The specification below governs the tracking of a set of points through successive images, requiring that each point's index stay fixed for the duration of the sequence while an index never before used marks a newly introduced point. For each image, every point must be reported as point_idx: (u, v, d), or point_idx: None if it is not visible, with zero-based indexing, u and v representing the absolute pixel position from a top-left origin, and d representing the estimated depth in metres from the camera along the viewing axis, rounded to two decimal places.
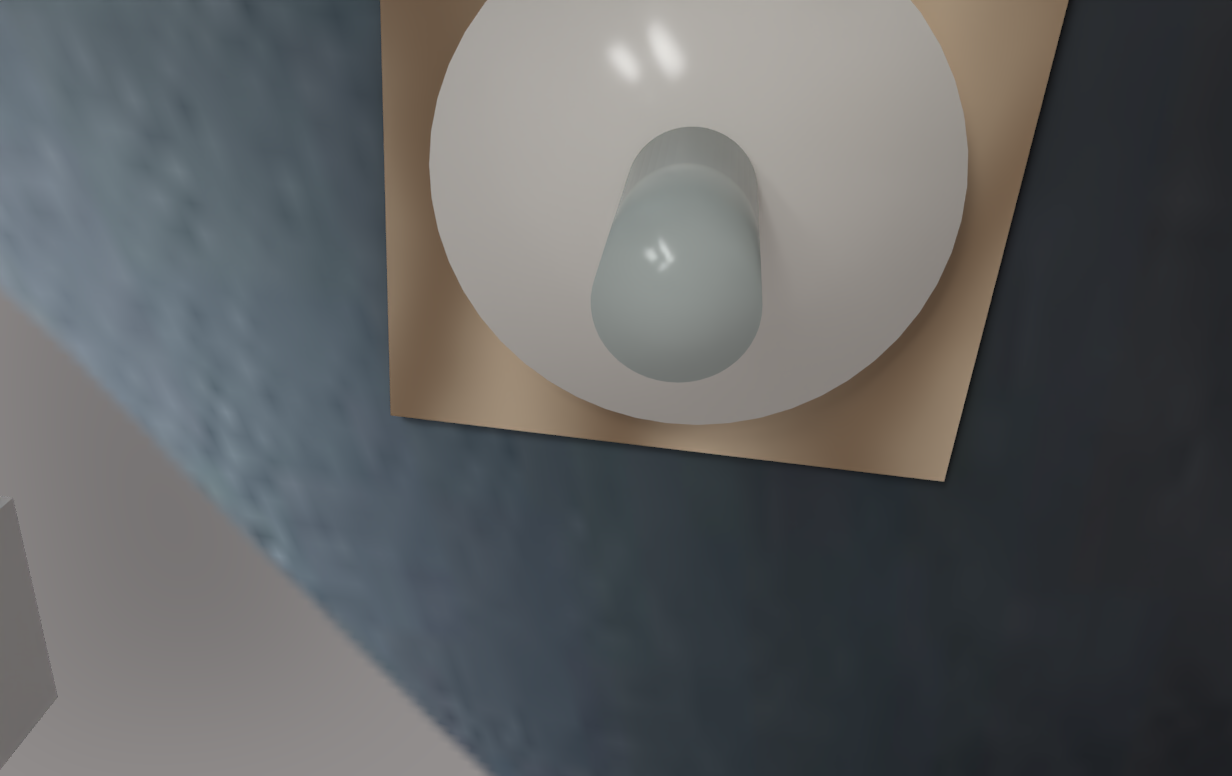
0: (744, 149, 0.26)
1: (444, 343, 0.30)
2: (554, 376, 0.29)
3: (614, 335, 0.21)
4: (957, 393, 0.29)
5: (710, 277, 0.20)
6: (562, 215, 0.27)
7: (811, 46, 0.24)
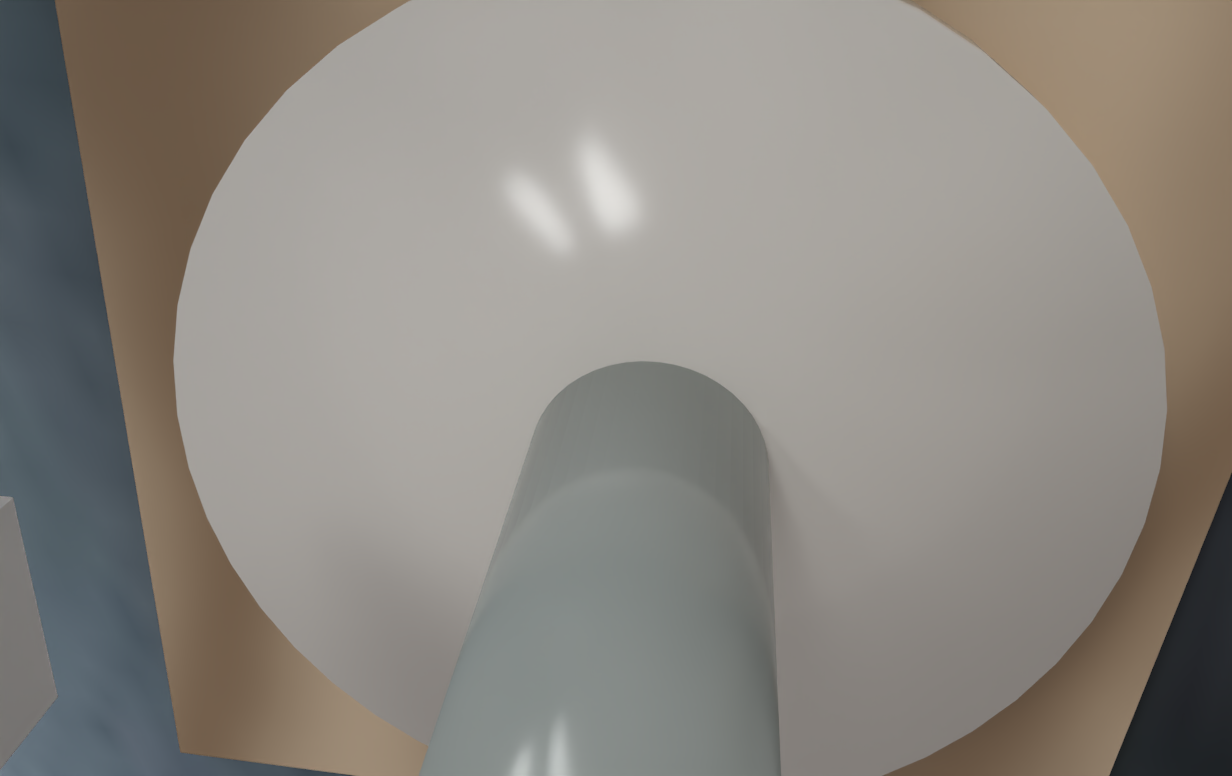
0: (743, 401, 0.14)
1: (253, 657, 0.18)
2: (427, 734, 0.17)
3: None
4: (1102, 752, 0.18)
5: None
6: (420, 498, 0.15)
7: (871, 226, 0.13)
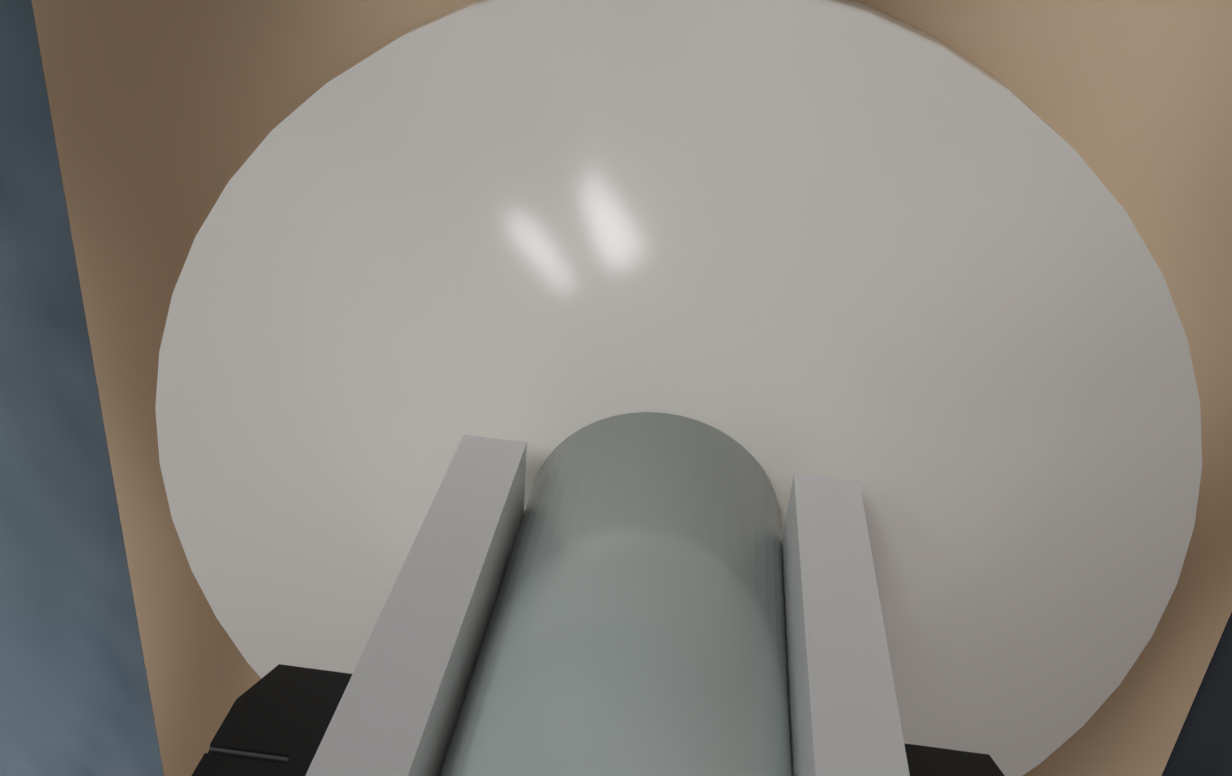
0: (754, 454, 0.13)
1: None
2: None
3: None
4: None
5: None
6: None
7: (890, 273, 0.12)
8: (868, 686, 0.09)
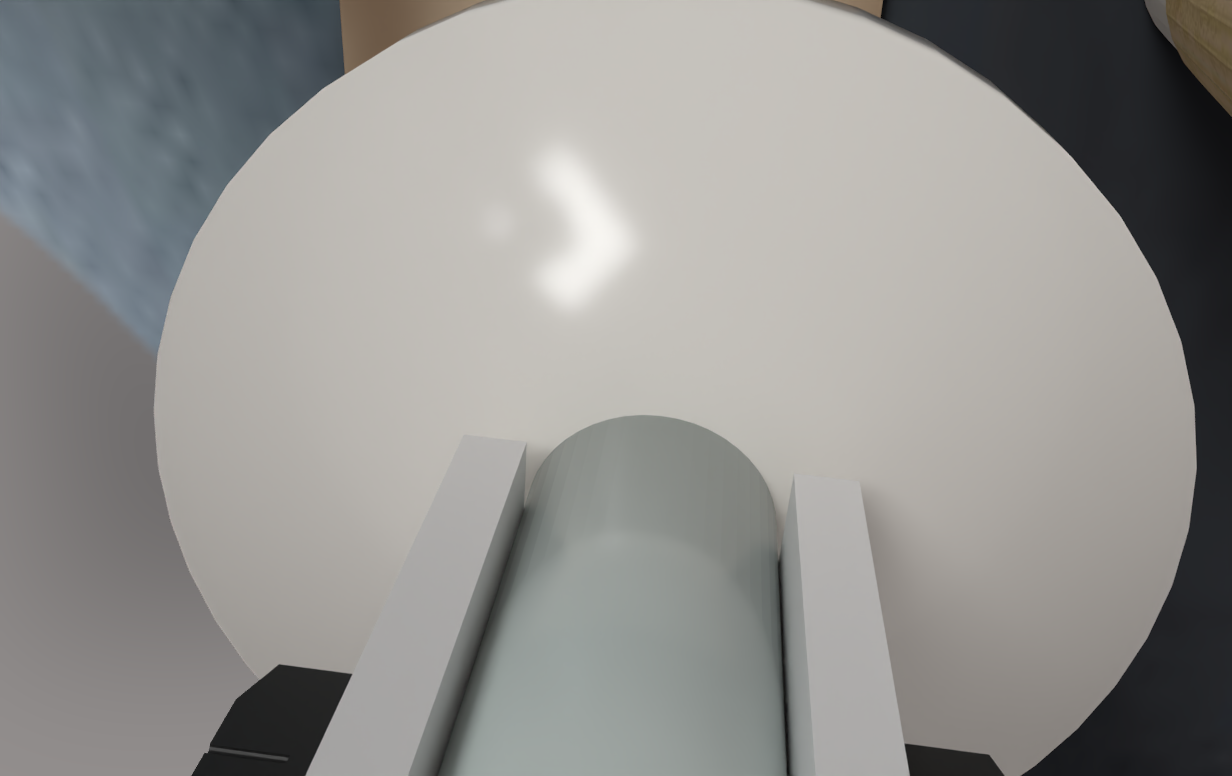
0: (750, 457, 0.13)
1: None
2: None
3: None
4: None
5: None
6: None
7: (885, 277, 0.12)
8: (869, 687, 0.09)
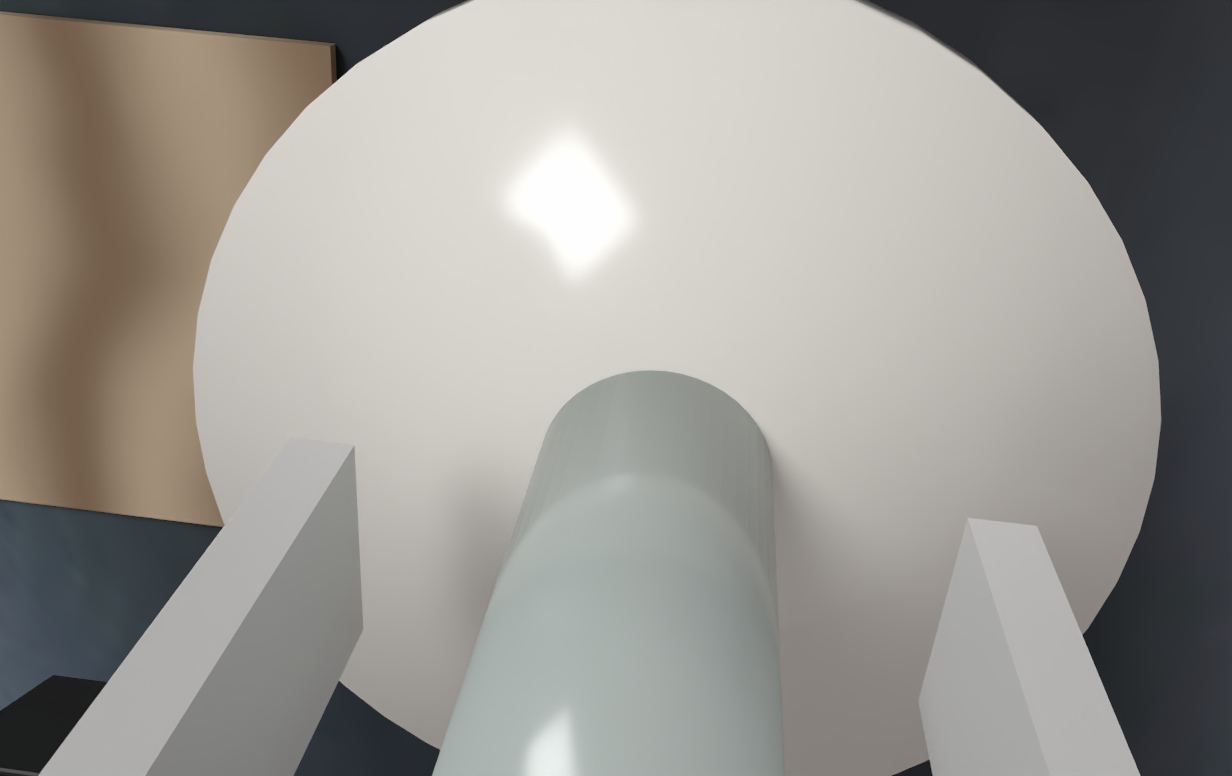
0: (748, 409, 0.14)
1: None
2: (436, 737, 0.18)
3: None
4: None
5: None
6: (431, 504, 0.15)
7: (872, 239, 0.13)
8: (1107, 760, 0.09)
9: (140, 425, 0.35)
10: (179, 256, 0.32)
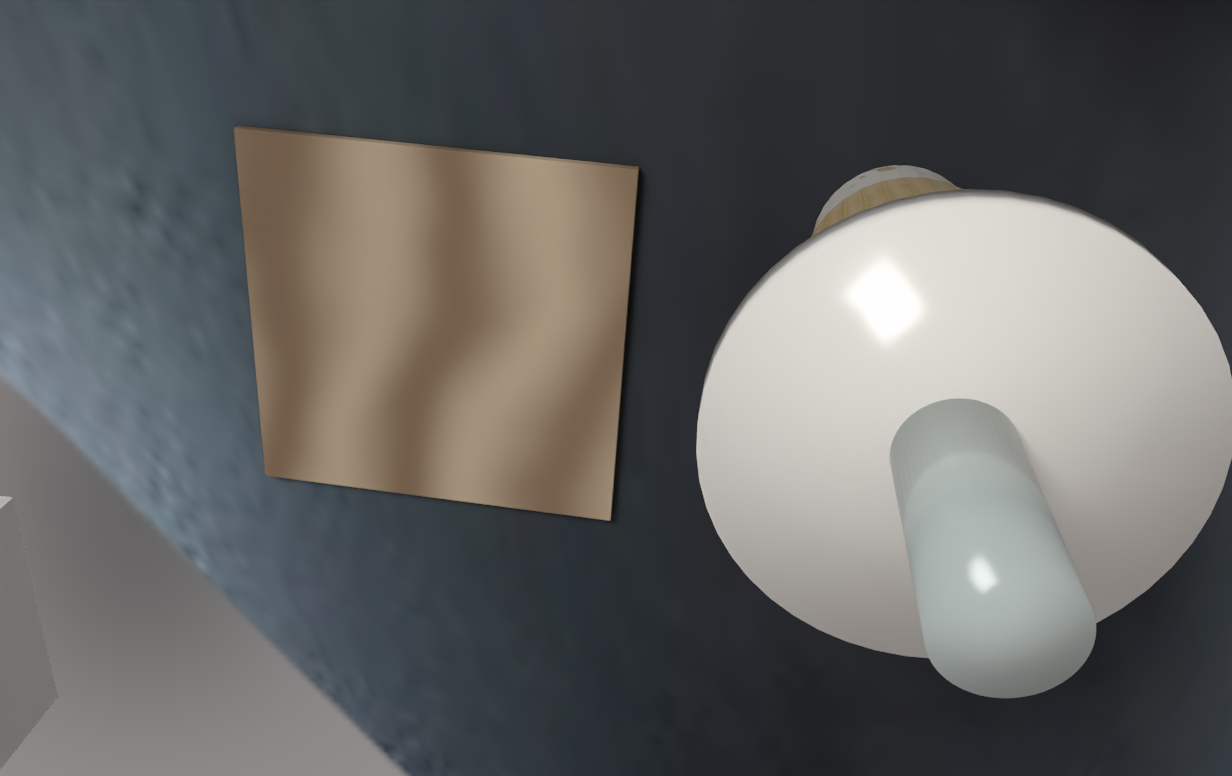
0: (1012, 420, 0.27)
1: (295, 431, 0.48)
2: (799, 611, 0.30)
3: (943, 656, 0.21)
4: (608, 466, 0.47)
5: (1047, 612, 0.21)
6: (823, 471, 0.28)
7: (1087, 332, 0.25)
8: None
9: (460, 432, 0.47)
10: (508, 310, 0.44)
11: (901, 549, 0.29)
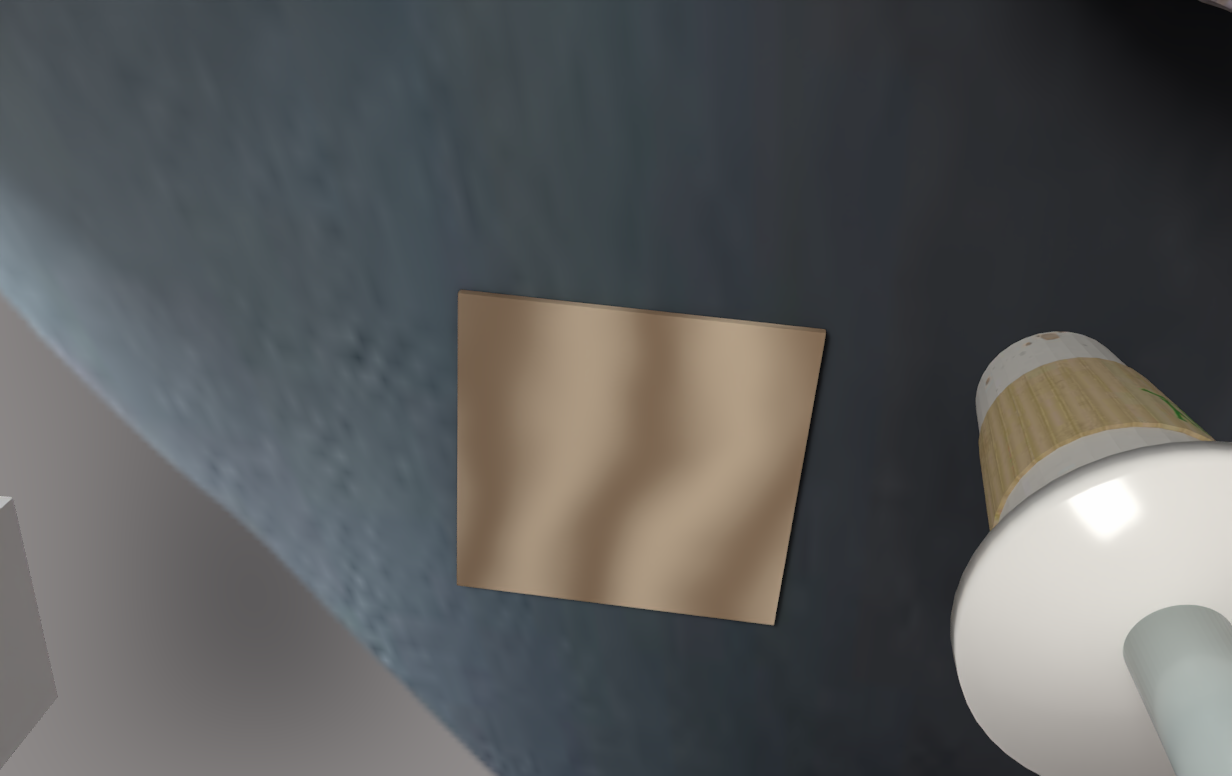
0: (1231, 621, 0.32)
1: (488, 548, 0.53)
2: (1030, 763, 0.35)
3: None
4: (776, 579, 0.52)
5: None
6: (1065, 657, 0.33)
7: None
8: None
9: (642, 549, 0.53)
10: (696, 448, 0.50)
11: (1123, 717, 0.34)
